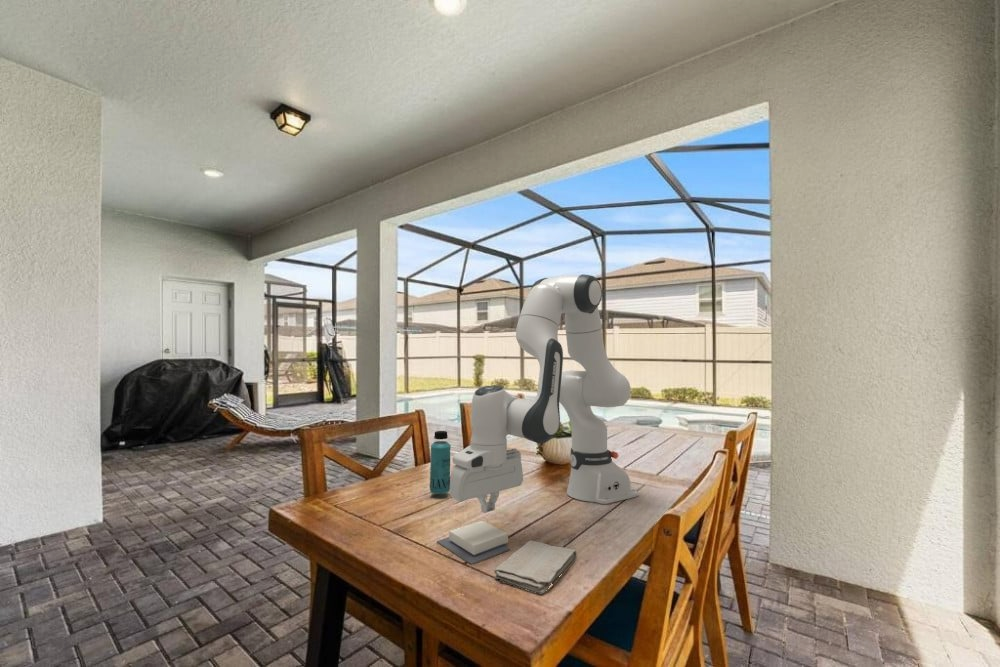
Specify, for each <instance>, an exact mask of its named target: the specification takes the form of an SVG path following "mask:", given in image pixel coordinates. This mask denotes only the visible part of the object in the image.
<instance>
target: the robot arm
mask: <svg viewBox="0 0 1000 667" xmlns="http://www.w3.org/2000/svg"><path fill="white" fill-rule="evenodd" d="M602 290H603V289H602V285H601V283H600V281H599V280H598V279H597V278H596V277H595V276H594V275H589V274H580V275H579V274H565V275H564V274H563V275H560V276H553V277H544V278H540V279H538V280H535V282H534V283H533V284H532V285H531V287H530V290H529V292H528V294H527V296H526V298H525V300H524V303H523V305H522V308H521V311H520V314H519V318H518V322H517V325H516V328H515V338H516V341H517V343H518V346H519V347H520V348H522V349H521V350H523V351H525V352H526V353H527V354H529V355H531V356H532V357H534V358H535V359H536V360H537V361H538V363H539V377H538V384H537V393H536V396H535V398H534V399H527V398H522V397H517V396H515V395H512V394H511V393H509V392H507V390H506V389H505V387H503V386H501V385H485V386H483V387H479V388H477V390H475V391H474V393H473V396H472V399H471V405H470V406H471V407H470V408H471V409H470V425H471V430H472V431H471V437H470V444H469V445H468V446H466V447H465V448H464V449H462V450H460V451H459V452H457V453H454V454H453V455H452V458H451V459H452V461H451V462H452V464H454V466H453V467H452V469H451V470H450V476H451V477H450V490H449V494H450V496H451V498H452V499H454V500H456V502H464V501H469V500H472V499H475V498H477V500H478V501H479V503H480V507H481V508H480V511H481V512H482V513H484V514H486V513H489V512H493V511H495V510H496V502H497V501H498V499H499V496H500V492H501V491H506V490H509V489H513V488H516V487H517V488H518V487H520V486H522V485H523V481H524V475H523V474H524V473H523V471H524V470H523V465H522V461H521V460H522V456H521V455H522V454H521V452H520V450H518V449H517V448H511V449H508V447H507V446H508V440H507V436H508V435H510V436H513V437H517V438H520V439H521V438H522V439H524V440H525V439H526V440H528V441H530V442H533V443H536V444H540V445H541V444H547V442H549V441H551V440H552V439H553V438H554V437H555V435H557V433H558V432H559V429H560V426H561V413H560V405H561V406H562V407H563V409H564V410H565V412H566V414H567V416H568V419H569V423H570V429H571V447H570V453H569V456H570V457H569V458H570V474H569V479H568V480H569V481H568V485H567V489H566V494H567V495H568V496H569V497H571V498H572V499H576V500H579V501H585V502H591V503H597V504H602V505H608V504H613V503H616V502H620V501H623V500H625V501H626V500H629V499H632V498H637V497H638V496H639V491H638V490H637V489H636V488H634V487H632V486H631V480H630V477H629V474H628V472H626V471H625V470H624V469H622V468H621V467H620V466H619V465H617V464H616V462H614V461H613V459H618V458H619V456H620V455H619V453H618V451H617V452H616V451H614V450H612V451H611V450H609V449H608V427H607V425H606V423H605V421H603V419H601V418H599V417H597V415H595V414H594V412H593V410H592V408H591V407H598V408H599V407H600V408H617V407H623V406H624V405H626V403H628V400H629V399H630V397H631V394H632V391H631V390H632V388H631V385H630V382H629V380H628V378H627V377H626V376H625V375H624V374H622V373H621V372H619V371H618V369H617V368H615V367H614V366H613V364H612V363H611V361H610V359H609V358H608V356H607V353H606V350H605V345H604V344H605V343H604V339H603V338H604V337H603V329H602V321H601V316H600V311H599V305H600V304H601V301H602V298H603V291H602ZM563 314H564V325H565V327H564V328H565V337H566V346H567V353H568V355H569V357H570V359H571V360H574V361H575V362H576V363H578V364H579V365H581V366H582V367H583V369H584V370H565V371H563V365H564V364H563V363H564V349H563V347H562V346H563V345H562V344H561V343H560V341H559V339H558V336H559V335H558V333H559V332H558V331H559V327H560V324H561V318H562V315H563ZM488 495H490V496H489V499H488ZM487 499H488V501H487Z"/></svg>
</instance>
